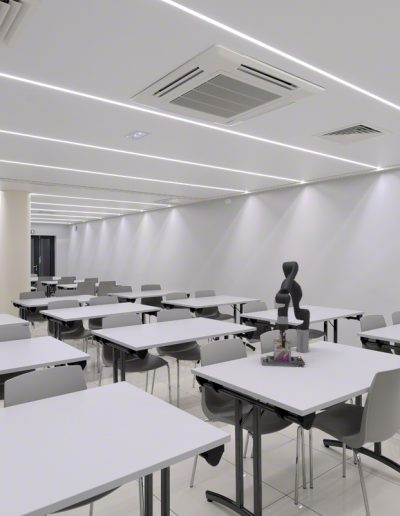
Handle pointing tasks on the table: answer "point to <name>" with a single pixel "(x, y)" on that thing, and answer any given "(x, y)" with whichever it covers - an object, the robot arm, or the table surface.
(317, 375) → the table surface
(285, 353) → the candy bar box
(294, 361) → the grey tray
